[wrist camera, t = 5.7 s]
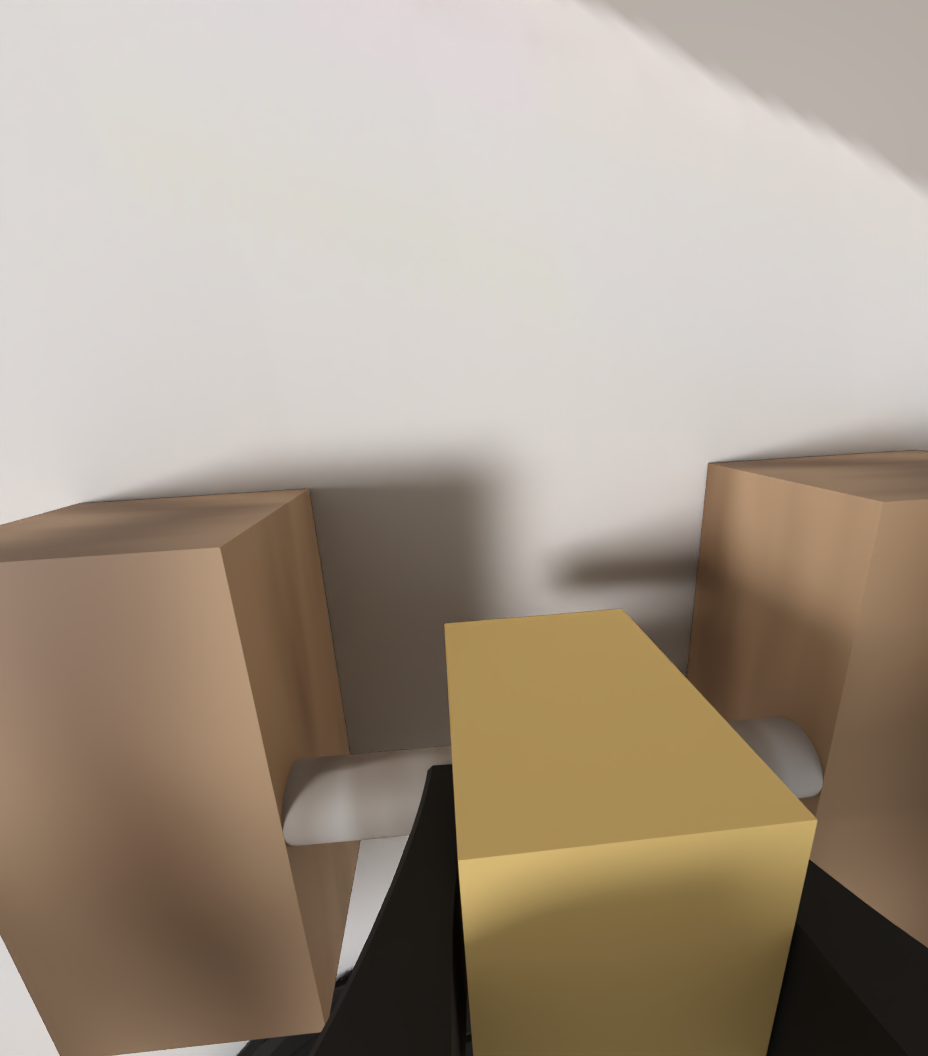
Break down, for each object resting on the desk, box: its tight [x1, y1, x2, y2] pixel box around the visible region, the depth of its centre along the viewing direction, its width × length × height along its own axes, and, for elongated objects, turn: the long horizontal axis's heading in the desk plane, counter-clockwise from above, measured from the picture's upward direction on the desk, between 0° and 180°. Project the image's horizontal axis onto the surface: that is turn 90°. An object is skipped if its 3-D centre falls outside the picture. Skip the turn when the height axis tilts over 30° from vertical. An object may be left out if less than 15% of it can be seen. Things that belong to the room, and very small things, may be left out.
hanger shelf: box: [0, 450, 928, 1056], centre depth 11 cm, size 23×12×5 cm, turn 93°
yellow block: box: [444, 609, 818, 1056], centre depth 8 cm, size 4×6×5 cm, turn 3°
